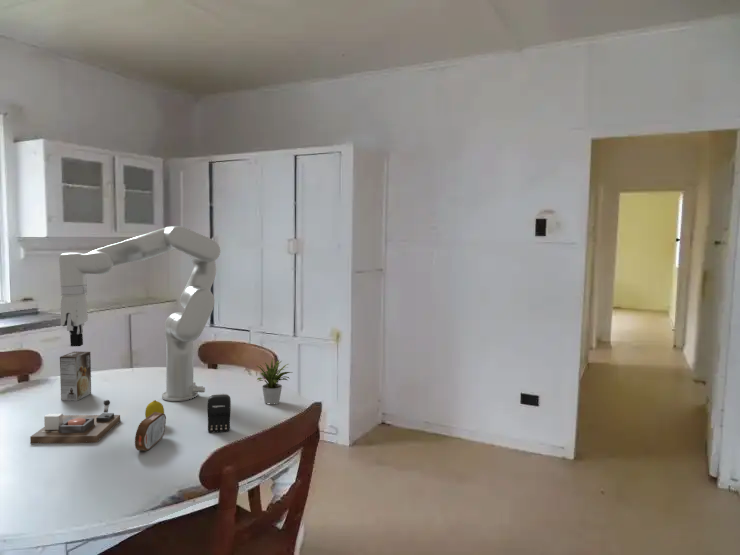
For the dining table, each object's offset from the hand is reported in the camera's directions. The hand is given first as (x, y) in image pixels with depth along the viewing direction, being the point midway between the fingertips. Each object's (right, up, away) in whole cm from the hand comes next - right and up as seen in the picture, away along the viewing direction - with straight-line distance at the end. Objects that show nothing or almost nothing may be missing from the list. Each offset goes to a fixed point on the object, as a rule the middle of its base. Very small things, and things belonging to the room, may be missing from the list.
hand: (76, 345), depth 172 cm
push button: (+10, -22, -17) cm, 29 cm away
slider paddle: (+3, -22, -18) cm, 28 cm away
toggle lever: (+14, -21, -9) cm, 26 cm away
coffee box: (-11, -22, +19) cm, 31 cm away
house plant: (+60, -24, +17) cm, 67 cm away
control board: (+8, -24, -14) cm, 29 cm away
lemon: (+29, -25, -7) cm, 38 cm away
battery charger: (+50, -25, -11) cm, 57 cm away
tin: (+34, -26, -22) cm, 48 cm away
